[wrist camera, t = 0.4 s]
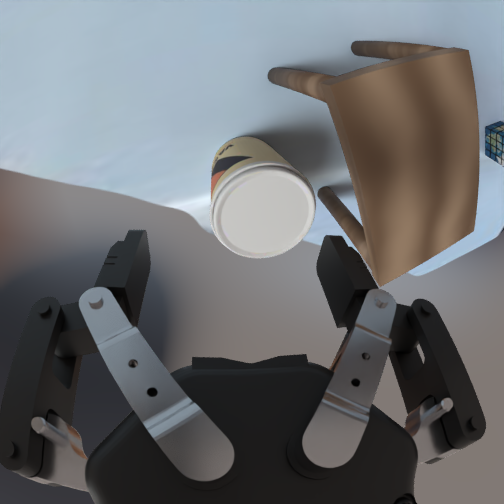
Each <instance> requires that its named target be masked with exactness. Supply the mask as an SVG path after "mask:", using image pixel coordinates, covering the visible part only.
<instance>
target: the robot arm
mask: <svg viewBox="0 0 504 504" xmlns="http://www.w3.org/2000/svg"><path fill="white" fill-rule="evenodd" d="M147 239H148V238H147V232H146V230H129V231H128V233H127V236H126V238H125V240H124V241H118V242H117V243H115V244H114V245H113V246H112V247H111V249H110V251H109V253H108V255H107V258H106V260H105V262H104V265H103V267H102V269H101V271H100V273H99V276H98V278H97V281H96V283H95V286H94V288H92V289H89V290H87V291H86V292H85V293H84V294H83V295H82V296H81V298H80V300H79V302H75V303H71V304H66V305H60V303H59V302H58V300H57V299H56V298H53V297H45V298H42V299H40V300H39V301H37V302H36V303H35V304H34V305H33V307H32V309H31V311H30V313H29V316H28V319H27V321H26V324H25V326H24V329H23V332H22V335H21V337H20V340H19V343H18V346H17V349H16V352H15V355H14V359H13V362H12V365H11V369H10V372H9V376H8V379H7V383H6V388H5V391H4V395H3V400H2V405H1V409H0V463H1V464H2V465H3V466H4V467H5V468H7V469H9V470H11V471H13V472H16V473H18V474H20V475H21V476H23V477H26V478H28V479H31V480H34V481H37V482H39V483H42V484H48V485H51V486H55V487H59V486H62V485H64V486H67V487H71V488H75V489H79V490H83V491H88V492H89V493H90V495H91V497H92V498H93V500H94V502H95V504H417V503H416V501H415V498H414V478H415V472H416V468H417V465H419V464H421V463H427V464H432V463H435V462H437V461H439V460H441V459H443V458H445V457H447V456H449V455H451V454H453V453H455V452H457V451H459V450H461V449H463V448H465V447H467V446H468V445H470V444H472V443H474V442H475V441H477V440H479V439H480V438H481V437H482V436H483V434H484V432H485V429H486V422H485V418H484V414H483V412H482V409H481V406H480V403H479V400H478V398H477V395H476V393H475V390H474V388H473V385H472V383H471V380H470V378H469V375H468V373H467V371H466V368H465V366H464V364H463V362H462V359H461V357H460V355H459V353H458V351H457V348H456V346H455V344H454V342H453V340H452V338H451V336H450V334H449V332H448V330H447V328H446V326H445V324H444V322H443V321H442V318H441V317H440V315H439V313H438V311H437V309H436V308H435V307H434V305H433V304H432V303H430V302H429V301H427V300H424V299H416V300H415V301H414V302H413V303H412V305H411V306H406V305H401V304H397V303H396V301H395V299H394V298H393V296H392V295H391V294H389V293H388V292H386V291H384V290H381V289H379V288H378V286H377V285H376V283H375V281H374V279H373V277H372V276H371V274H370V272H369V270H368V269H367V267H366V265H365V263H363V260H362V258H361V256H360V254H359V253H358V252H357V251H356V250H354V249H353V248H352V247H348V245H347V243H346V242H345V240H344V238H343V237H342V236H333V235H326V236H325V237H324V240H323V243H322V247H321V250H320V253H319V257H318V260H317V266H316V267H317V275H318V277H319V280H320V282H321V285H322V287H323V290H324V293H325V296H326V298H327V301H328V304H329V306H330V309H331V312H332V315H333V318H334V320H335V323H336V326H337V328H340V327H347V330H348V331H347V333H346V335H345V337H344V339H343V341H342V343H341V345H340V348H339V350H338V352H337V354H336V356H335V358H334V360H333V362H332V364H331V366H330V368H329V369H327V368H325V367H323V366H321V365H318V364H315V363H311V362H308V360H307V356H306V354H302V355H289V356H288V355H287V356H278V357H274V358H271V359H267V360H263V361H260V362H256V363H244V362H240V361H235V360H230V359H225V358H209V357H207V358H205V357H192V365H191V366H186V367H183V368H180V369H178V370H176V371H174V372H172V373H169V372H168V371H167V370H166V368H165V367H164V366H163V364H162V363H161V362H160V360H159V359H158V358H157V356H156V355H155V353H154V352H153V351H152V349H151V348H150V346H149V345H148V344H147V342H146V341H145V339H144V338H143V336H142V335H141V333H140V332H139V330H138V329H137V326H138V321H139V316H140V311H141V307H142V302H143V298H144V293H145V289H146V285H147V281H148V277H149V273H150V265H151V261H150V253H149V245H148V240H147ZM418 344H420V346H421V348H422V351H423V353H424V357H425V361H424V364H423V362H422V359H421V357H420V354H419V352H418V350H417V345H418ZM96 352H100V353H101V355H102V357H103V358H104V360H105V362H106V364H107V366H108V368H109V370H110V372H111V373H112V375H113V377H114V378H115V380H116V382H117V384H118V385H119V387H120V389H121V390H122V392H123V393H124V395H125V397H126V399H127V400H128V402H129V403H130V405H131V406H132V408H133V411H132V412H131V413H130V414H129V415H128V416H127V417H126V418H125V419H124V420H123V421H122V422H121V423H120V424H119V425H118V426H117V427H116V428H115V429H114V430H113V431H112V432H111V433H110V434H109V435H108V436H107V437H106V438H105V439H104V440H103V441H102V442H101V443H100V444H99V445H98V446H97V447H96V448H95V449H94V450H93V451H92V453H91V454H90V456H89V457H88V458H87V457H86V456H85V454H84V452H83V448H82V440H81V437H80V435H79V433H78V432H77V431H76V430H75V429H74V428H73V427H72V419H73V410H74V402H75V395H76V390H77V383H78V377H79V372H80V367H81V361H82V357H83V355H86V354H91V353H96ZM388 354H389V357H390V360H391V363H392V366H393V368H394V372H395V375H396V378H397V381H398V384H399V387H400V390H401V393H402V397H403V400H404V403H405V407H406V410H407V413H408V416H407V417H406V421H405V427H404V428H403V427H401V426H400V425H399V424H397V423H396V422H395V421H393V420H392V419H391V418H390V417H388V416H387V415H386V414H385V413H383V412H382V411H381V410H380V409H378V408H377V407H376V406H374V405H373V404H372V402H373V399H374V397H375V394H376V391H377V388H378V385H379V382H380V379H381V376H382V373H383V370H384V367H385V363H386V360H387V357H388Z"/></svg>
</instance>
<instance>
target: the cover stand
mask: <svg viewBox="0 0 504 504" xmlns="http://www.w3.org/2000/svg"><path fill="white" fill-rule="evenodd" d="M351 50H352V52H353V53H354V54H355V55H357V56H366V57H375V58H383V59H391V60H390V61H386V62H382V63H379V64H375V65H372V66H368V67H365V68H362V69H358V70H355V71H352V72H349V73H346V74H343V75H340V76H337V77H336V76H330V75H325V74H320V73H314V72H307V71H301V70H294V69H286V68H272V69H271V70H270V71H269V73H268V79H269V81H270V82H271V83H273V84H276V85H279V86H283V87H286V88H288V89H291V90H294V91H297V92H300V93H303V94H305V95H308V96H311V97H313V98H316V99H318V100H321V101H323V102H326V103H327V105H328V108H329V110H330V113H331V116H332V119H333V122H334V125H335V128H336V131H337V134H338V137H339V140H340V143H341V146H342V149H343V153H344V156H345V159H346V163H347V166H348V169H349V173H350V177H351V180H352V184H353V188H354V191H355V195H356V199H357V203H358V207H359V211H360V215H361V220H362V224H363V226H362V225H361V224H360V223H359V222H358V220H357V219H356V218H355V217H354V216H353V214H352V213H351V212H350V211H349V210H348V209H347V207H346V206H345V205H344V204H343V203H342V202H341V201H340V199H339V198H338V197H337V196H336V195H335V194H334V193H333V191H332V190H331V189H330V188H329V187H322V188H320V189H319V191H318V197H319V199H320V200H321V201H322V203H323V204H324V205H325V206H326V208H327V209H328V210H329V212H330V213H331V214H332V216H333V217H334V218H335V220H336V221H337V222H338V224H339V225H340V226H341V228H342V229H343V230H344V232H345V233H346V234H347V236H348V237H349V239H350V240H351V241H352V243H353V244H354V246H355V247H356V248H357V250H358V251H359V253H360V254H361V255H362V257H363V258H364V260H365V261H366V263H367V264H368V265H369V267H370V268H371V270H372V274H373V277H374V278H375V280H376V281H377V283H378V285H379V286H380V287H381V286H382V285H384V284H386V283H388V282H390V281H392V280H394V279H395V278H397V277H399V276H401V275H403V274H404V273H406V272H408V271H410V270H411V269H413V268H415V267H417V266H418V265H420V264H422V263H424V262H425V261H427V260H429V259H430V258H432V257H434V256H435V255H437V254H439V253H440V252H442V251H443V250H445V249H447V248H448V247H450V246H451V245H453V244H455V243H456V242H458V241H459V240H461V239H462V238H464V237H465V236H467V235H468V234H470V233H472V232H473V231H474V227H475V219H476V210H477V200H478V186H479V123H478V110H477V100H476V91H475V84H474V77H473V71H472V65H471V60H470V55H469V50H465V49H460V48H455V47H453V48H443V47H436V46H429V45H421V44H412V43H400V42H383V41H355V42H353V43H352V45H351Z"/></svg>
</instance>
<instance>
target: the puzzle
mask: <svg viewBox="0 0 504 504" xmlns="http://www.w3.org/2000/svg"><path fill="white" fill-rule="evenodd" d="M485 155H486V156H488V157H489V158H491V159H493V160H494V161H496V162H497V163H499V164H500V165H502V166H503V167H504V123H503V122H501V121H500V122H497V123H494V124H492V125H490V126H486V127H485Z"/></svg>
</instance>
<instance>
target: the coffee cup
mask: <svg viewBox="0 0 504 504" xmlns="http://www.w3.org/2000/svg"><path fill="white" fill-rule="evenodd" d="M315 209H316V199H315V194H314V191H313V188H312V186H311V184H310V183H309V181H308V180H307V178H306V177H305V176H304V175H303V174H302V173H301V172H299V171H298V170H297V169H295V168H294V167H293V166H292V165H290V164H289V163H288V162H287V161H286V160H285V159H284V158H283V157H282V156H280V155H279V154H278V153H277V152H276V151H275V150H274V149H272V148H271V147H270V146H269V145H268V144H266V143H265V142H263V141H262V140H260V139H257V138H254V137H238V138H234V139H232V140H230V141H228V142H226V143H225V144H224V145H223V146H222V147H221V148H220V149H219V150H218V151H217V153H216V155H215V157H214V160H213V164H212V178H211V205H210V222H211V226H212V229H213V231H214V233H215V235H216V236H217V238H218V240H219V241H220V242H221V243H222V244H223V245H225V246H226V247H227V248H228V249H230V250H231V251H233V252H234V253H236V254H239V255H241V256H245V257H250V258H268V257H272V256H276V255H279V254H282V253H284V252H286V251H288V250H289V249H291V248H293V247H294V246H295V245H297V244H298V243H299V242H300V241H301V240H302V239H303V238H304V237H305V235H306V234H307V233H308V231H309V229H310V228H311V225H312V223H313V220H314V216H315Z"/></svg>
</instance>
